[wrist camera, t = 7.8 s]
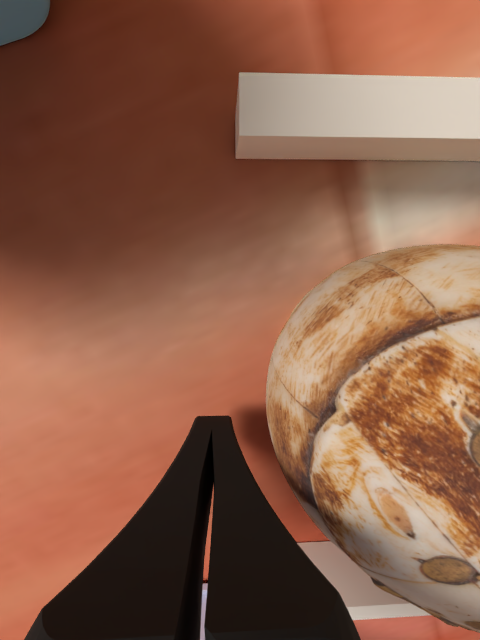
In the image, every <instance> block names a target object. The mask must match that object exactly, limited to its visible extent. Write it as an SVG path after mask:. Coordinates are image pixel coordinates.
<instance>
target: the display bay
mask: <svg viewBox="0 0 480 640" xmlns="http://www.w3.org/2000/svg"><path fill="white" fill-rule="evenodd" d="M235 159H318V160H422V161H480V78H468V77H424V76H381V75H337V74H293V73H250V72H239V81H238V92H237V103H236V114H235ZM297 544H298V545H299V546H300V547H301V549H302V550H303V551H304V552H305V554H306V555H307V556H308V557H309V559H310V560H311V561H312V562H313V563H314V565H315V566H316V567H317V568H318V569H319V570H320V572H321V573H322V574H323V575H324V576H325V577H326V578H327V579H328V581H329V582H330V583H331V584H332V585H333V586H334V587H335V588H336V589H337V591H338V592H339V594H340V595H341V597H342V599H343V601H344V603H345V605H346V607H347V609H348V611H349V614H350V616H351V618H352V620H362V619H378V618H394V617H410V616H426V615H431V614H429V613H427V612H426V611H424V610H422V609H420V608H418V607H417V606H415V605H413V604H411V603H409V602H407V601H405V600H403V599H401V598H399V597H396V596H394V595H392V594H390V593H387V592H385V591H383V590H382V589H380V588H378V587H377V586H375V585H374V583H373V582H372V580H371V577H370V576H369V575H367V574H366V573H365V572H364V571H363V570H362V569H361V568H360V567H358V566H357V564H356V563H354V562H353V561H352V560H351V559H350V558H349V557H348V556H347V555H346V554H345V553H344V552H342V551H341V550H340V549H339V548H338V547H337V546H336V545H334V544H333V543H332V542H331V541H324V542H304V543H297Z"/></svg>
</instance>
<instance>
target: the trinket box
mask: <svg viewBox="0 0 480 640" xmlns="http://www.w3.org/2000/svg"><path fill="white" fill-rule="evenodd" d="M266 412H267V420H268V426H269V431H270V436H271V440H272V444H273V447H274V450H275V454H276V457H277V459H278V462H279V464H280V467H281V469H282V471H283V474H284V476H285V478H286V480H287V482H288V484H289V485H290V487H291V489H292V491H293V493H294V494H295V496H296V498H297V499H298V501H299V502H300V504H301V505H302V507H303V508H304V510H305V511H306V513H307V514H308V515H309V517H310V518H311V519H312V521H313V522H314V523H315V524H316V526H317V527H318V528H319V529H320V530H321V531H322V532H323V533H324V535H325V536H326V537H327V538H328V539H329V540H330V541H331V542H332V543H333V544H334V545H336V546H337V547H338V548H339V549H340V550H341V551H342V552H344V553H345V554H346V555H347V556H348V557H349V558H350V559H351V560H352V561H353V562H354V563H356V564H357V566H358V567H360V568H361V569H362V570H363V571H364V572H365V573H366V574H367V575H369V576H370V577H371V580H372V582H373V583H374V585H375V586H377V587H378V588H380V589H382V590H383V591H385V592H387V593H390V594H392V595H394V596H396V597H399V598H401V599H403V600H405V601H407V602H409V603H411V604H413V605H415V606H417V607H418V608H420V609H422V610H424V611H426V612H427V613H429V614H431V615H432V616H434V617H437V618H439V619H440V620H442V621H443V622H445V623H446V624H448V625H452V626H456V627H458V626H460V627H462V628H465V629H468V630H473V631H476V632H479V633H480V246H471V245H452V244H450V245H449V244H439V245H423V246H412V247H406V248H399V249H394V250H389V251H385V252H381V253H377V254H374V255H371V256H368V257H365V258H362V259H359V260H357V261H354V262H352V263H350V264H348V265H346V266H344V267H342V268H340V269H338V270H337V271H335V272H334V273H332V274H331V275H329V276H328V277H327V278H325V279H324V280H323V281H322V282H320V283H319V284H318V285H316V286H315V287H314V288H313V289H312V290H310V291H309V292H308V293H307V294H306V295H305V296H304V297H303V299H302V300H301V301H300V302H299V303H298V304H297V306H296V307H295V309H294V310H293V312H292V313H291V316H290V318H289V319H288V321H287V322H286V324H285V326H284V327H283V329H282V331H281V333H280V335H279V337H278V339H277V341H276V343H275V346H274V349H273V352H272V356H271V359H270V364H269V368H268V375H267V386H266Z"/></svg>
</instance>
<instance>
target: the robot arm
mask: <svg viewBox="0 0 480 640" xmlns="http://www.w3.org/2000/svg"><path fill="white" fill-rule="evenodd" d="M213 482H214V502H213V518H212V533H211V547H210V561H209V574H208V583H203V569H204V556H205V546H206V538H207V530H208V522H209V514H210V506H211V499H212V491H213ZM24 640H361V639H360V637H359V634H358V632H357V630H356V627H355V625H354V622H353V620H352V618H351V616H350V614H349V611H348V609H347V607H346V605H345V603H344V601H343V599H342V597H341V595H340V594H339V592H338V591H337V589H336V588H335V587H334V586H333V585H332V584H331V583H330V582H329V581H328V579H327V578H326V577H325V576H324V575H323V574H322V573H321V572H320V570H319V569H318V568H317V567H316V566H315V565H314V563H313V562H312V561H311V560H310V559H309V557H308V556H307V555H306V554H305V552H304V551H303V550H302V549H301V547H300V546H299V545H298V544H297V542H296V541H295V540H294V538H293V537H292V536H291V534H290V533H289V532H288V530H287V529H286V527H285V526H284V525H283V523H282V522H281V521H280V519H279V518H278V516H277V515H276V513H275V512H274V510H273V509H272V507H271V506H270V504H269V503H268V501H267V500H266V498H265V496H264V495H263V493H262V491H261V490H260V488H259V486H258V484H257V482H256V481H255V479H254V477H253V475H252V473H251V471H250V469H249V467H248V465H247V463H246V461H245V458H244V456H243V454H242V451H241V449H240V447H239V444H238V442H237V439H236V436H235V433H234V429H233V425H232V419H231V417H230V416H198V417H196V418H195V420H194V423H193V425H192V428H191V430H190V432H189V434H188V436H187V438H186V440H185V442H184V444H183V445H182V447H181V449H180V451H179V453H178V454H177V456H176V458H175V459H174V461H173V463H172V464H171V466H170V467H169V469H168V470H167V472H166V473H165V475H164V477H163V478H162V480H161V481H160V482H159V484H158V485H157V487H156V488H155V489H154V491H153V492H152V494H151V495H150V496H149V498H148V499H147V500H146V501H145V503H144V504H143V505H142V507H141V508H140V509H139V510H138V511H137V513H136V514H135V515H134V516H133V517H132V519H131V520H130V521H129V522H128V523H127V525H126V526H125V527H124V528H123V529H122V530H121V531H120V533H119V534H118V535H117V536H116V537H115V538H114V539H113V540H112V541H111V542H110V543H109V544H108V545H107V546H106V547H105V548H104V550H103V551H102V552H101V553H100V554H99V555H98V556H97V557H96V558H95V559H94V560H93V561H92V562H91V563H90V564H89V565H88V566H87V567H86V568H85V569H84V570H83V571H82V572H81V573H80V574H79V575H78V576H77V577H76V578H75V579H73V580H72V581H71V582H70V583H69V584H68V585H67V586H66V587H65V588H64V589H63V590H62V591H61V592H60V593H58V594H57V595H56V596H55V597H54V598H53V599H52V600H51V601H50V602H49V603H48V604H47V605H45V606H44V607H43V608H42V610H41V611H40V613H39V615H38V616H37V618H36V620H35V622H34V623H33V625H32V627H31V629H30V630H29V632H28V634H27V636H26V637H25V639H24Z"/></svg>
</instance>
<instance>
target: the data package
mask: <svg viewBox="0 0 480 640" xmlns="http://www.w3.org/2000/svg"><path fill="white" fill-rule="evenodd" d="M49 9H50V0H0V46H1V45H4V44H7V43H10V42H13V41H16V40H19V39H22V38H25V37H27V36H29V35H31V34H33V33H34V32H35V31H37V30H38V29H39V28H40V27H41V26H42V25H43V23H44V22H45V20H46V18H47V16H48V13H49Z"/></svg>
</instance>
